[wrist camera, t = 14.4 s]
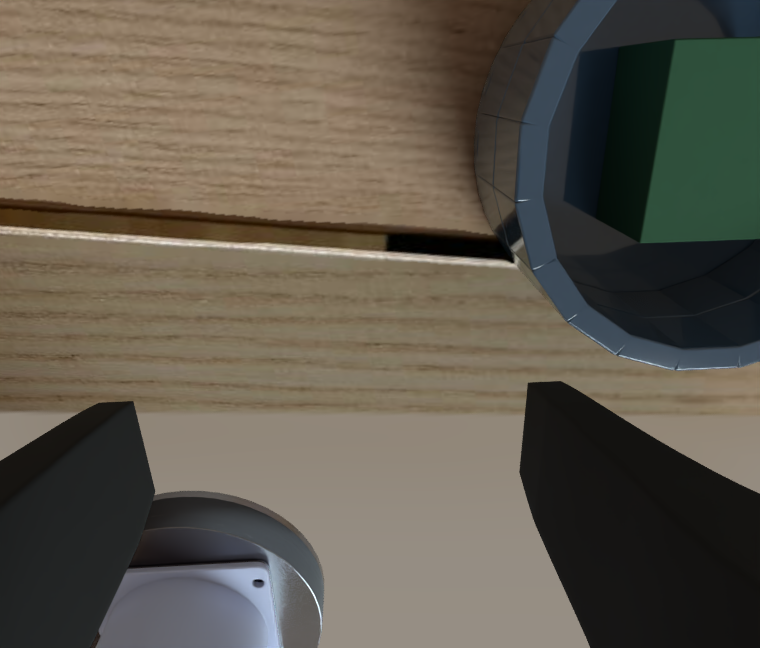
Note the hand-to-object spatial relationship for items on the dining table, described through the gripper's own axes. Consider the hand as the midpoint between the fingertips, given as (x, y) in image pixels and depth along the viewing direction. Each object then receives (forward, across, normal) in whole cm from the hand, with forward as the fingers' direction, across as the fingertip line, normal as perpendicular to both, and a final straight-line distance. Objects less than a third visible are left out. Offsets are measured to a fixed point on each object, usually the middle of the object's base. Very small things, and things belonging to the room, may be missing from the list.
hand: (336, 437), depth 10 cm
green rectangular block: (+9, -10, -4) cm, 14 cm away
